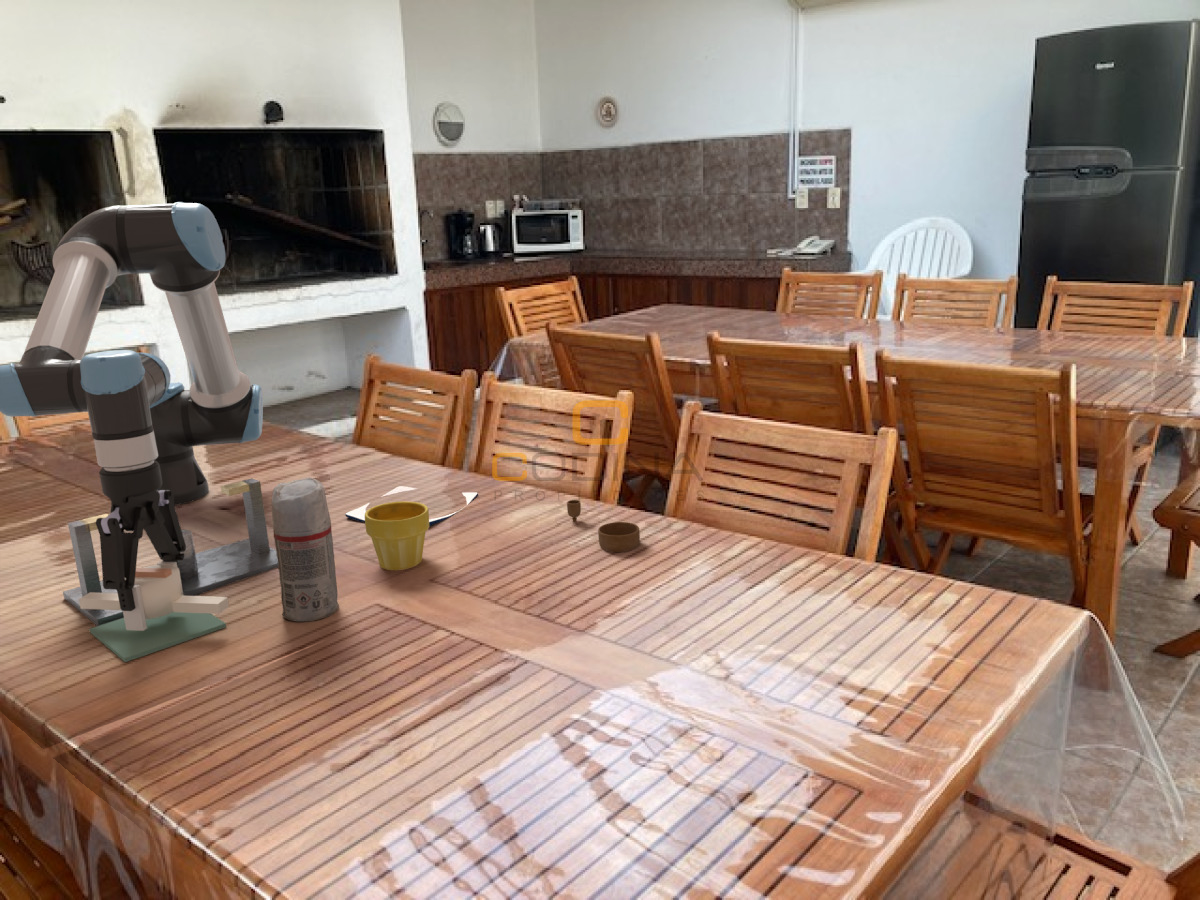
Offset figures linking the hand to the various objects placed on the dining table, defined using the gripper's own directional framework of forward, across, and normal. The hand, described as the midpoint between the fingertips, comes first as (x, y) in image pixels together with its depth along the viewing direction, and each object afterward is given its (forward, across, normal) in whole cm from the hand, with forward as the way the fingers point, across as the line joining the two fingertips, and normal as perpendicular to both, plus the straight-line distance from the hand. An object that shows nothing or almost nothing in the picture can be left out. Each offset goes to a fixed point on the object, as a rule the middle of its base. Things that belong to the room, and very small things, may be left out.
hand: (155, 615), depth 135 cm
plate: (+3, -52, +19) cm, 56 cm away
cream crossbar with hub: (-1, 0, 0) cm, 1 cm away
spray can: (+2, -8, +20) cm, 22 cm away
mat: (+2, 0, 0) cm, 2 cm away
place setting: (+3, -39, +61) cm, 72 cm away
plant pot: (+2, -26, +27) cm, 38 cm away
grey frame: (+2, -17, -7) cm, 19 cm away
